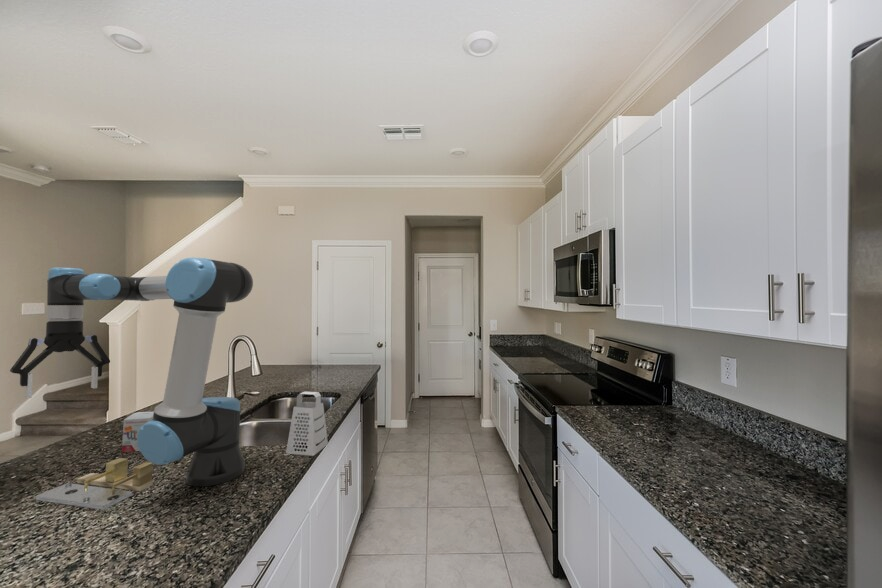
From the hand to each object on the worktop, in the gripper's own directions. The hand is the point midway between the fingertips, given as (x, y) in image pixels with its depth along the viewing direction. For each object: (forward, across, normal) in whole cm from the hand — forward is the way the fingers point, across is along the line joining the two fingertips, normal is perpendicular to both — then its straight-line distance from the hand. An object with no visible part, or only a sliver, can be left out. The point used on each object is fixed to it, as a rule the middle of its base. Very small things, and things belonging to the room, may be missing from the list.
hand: (63, 392), depth 105 cm
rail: (+26, -5, +17) cm, 31 cm away
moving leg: (+24, -5, +17) cm, 30 cm away
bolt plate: (+26, -1, +18) cm, 32 cm away
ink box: (+26, -23, -10) cm, 36 cm away
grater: (+27, -54, +40) cm, 73 cm away
